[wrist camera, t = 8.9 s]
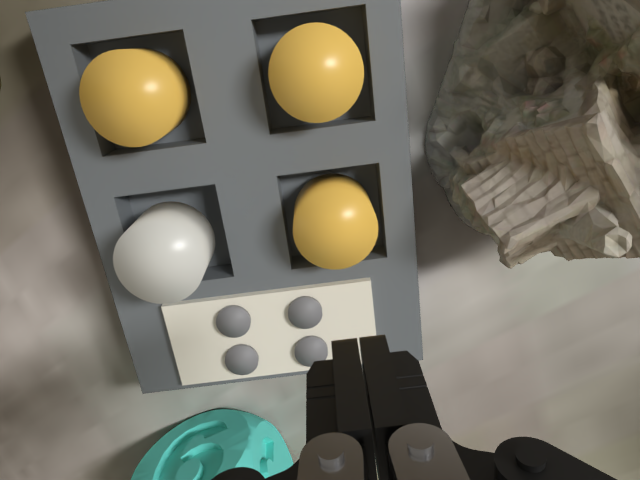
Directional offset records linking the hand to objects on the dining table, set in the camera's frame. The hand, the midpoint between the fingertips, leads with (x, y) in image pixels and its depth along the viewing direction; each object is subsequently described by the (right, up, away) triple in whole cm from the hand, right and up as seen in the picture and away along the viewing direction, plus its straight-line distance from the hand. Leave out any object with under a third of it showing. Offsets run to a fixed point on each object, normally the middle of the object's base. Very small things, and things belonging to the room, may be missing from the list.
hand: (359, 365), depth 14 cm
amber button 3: (0, +5, +13) cm, 14 cm away
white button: (-8, +3, +11) cm, 15 cm away
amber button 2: (-1, +11, +10) cm, 15 cm away
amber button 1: (-9, +10, +10) cm, 17 cm away
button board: (-5, +6, +14) cm, 16 cm away
